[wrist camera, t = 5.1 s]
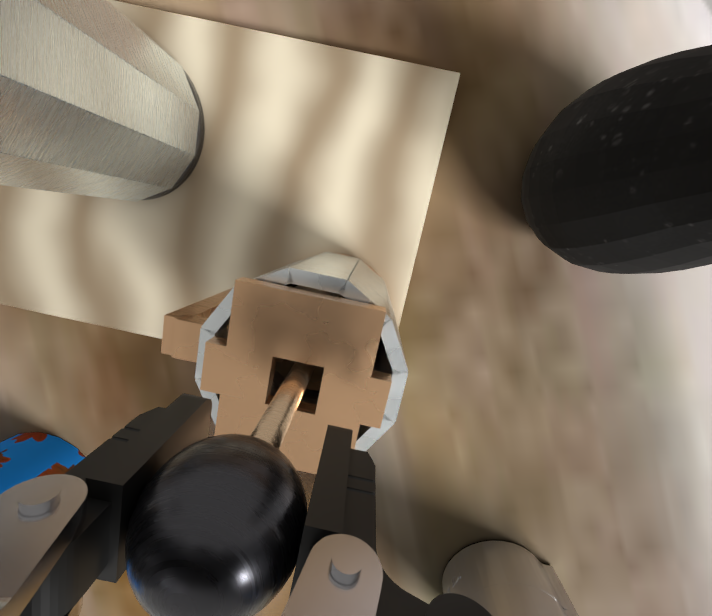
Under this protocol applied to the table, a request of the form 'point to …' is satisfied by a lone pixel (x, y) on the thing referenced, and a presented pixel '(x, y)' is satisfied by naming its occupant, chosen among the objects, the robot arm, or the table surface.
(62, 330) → the table surface
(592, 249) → the bottle
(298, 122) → the board
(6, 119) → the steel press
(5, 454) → the thermos
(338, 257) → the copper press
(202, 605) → the copper plunger
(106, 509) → the robot arm
